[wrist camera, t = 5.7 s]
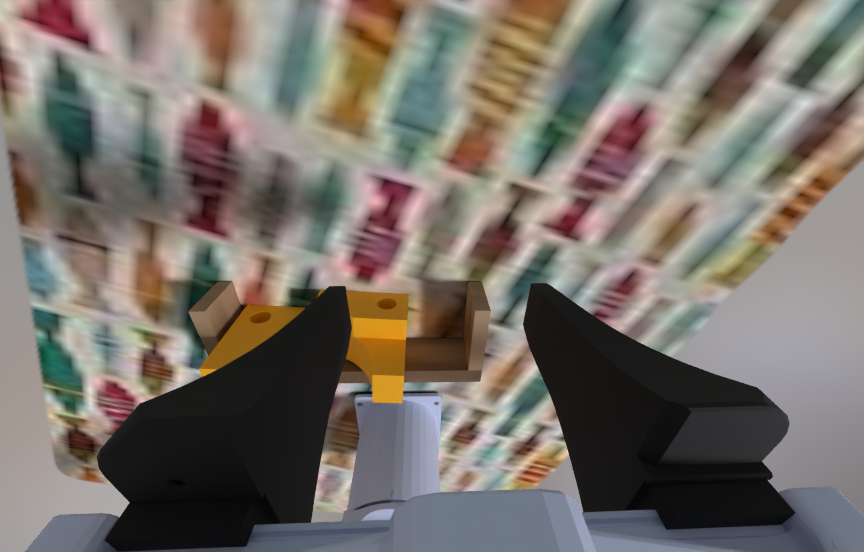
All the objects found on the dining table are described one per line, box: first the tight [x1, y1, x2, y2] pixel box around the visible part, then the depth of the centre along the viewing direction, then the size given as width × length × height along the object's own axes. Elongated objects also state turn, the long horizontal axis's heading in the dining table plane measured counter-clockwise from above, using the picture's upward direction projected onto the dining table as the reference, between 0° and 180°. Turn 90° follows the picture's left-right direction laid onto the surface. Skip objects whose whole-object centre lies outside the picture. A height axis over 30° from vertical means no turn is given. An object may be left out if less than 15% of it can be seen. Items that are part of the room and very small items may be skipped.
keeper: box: [188, 282, 491, 383], centre depth 24 cm, size 7×19×4 cm, turn 89°
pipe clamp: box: [199, 290, 408, 403], centre depth 22 cm, size 12×4×6 cm, turn 85°
